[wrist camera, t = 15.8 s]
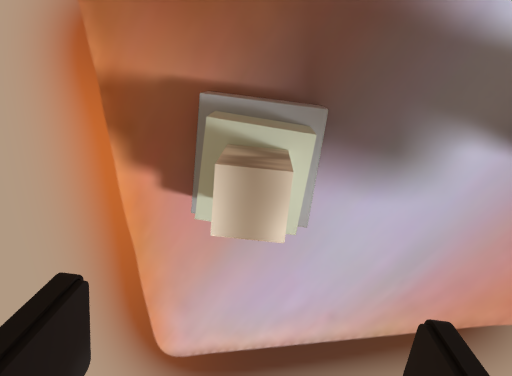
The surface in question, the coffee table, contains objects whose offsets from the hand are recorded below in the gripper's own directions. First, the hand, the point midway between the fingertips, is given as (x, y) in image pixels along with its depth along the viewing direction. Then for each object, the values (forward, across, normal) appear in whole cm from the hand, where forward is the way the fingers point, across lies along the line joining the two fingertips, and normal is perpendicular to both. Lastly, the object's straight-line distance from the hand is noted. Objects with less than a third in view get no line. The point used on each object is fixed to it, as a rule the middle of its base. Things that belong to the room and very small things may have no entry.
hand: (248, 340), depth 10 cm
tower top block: (+26, +1, +1) cm, 26 cm away
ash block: (+21, +1, +1) cm, 21 cm away
